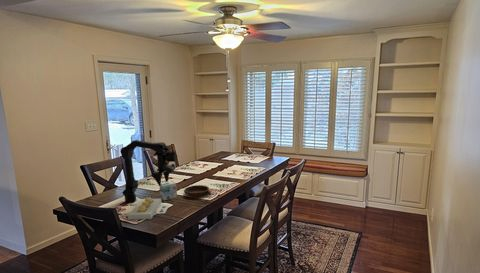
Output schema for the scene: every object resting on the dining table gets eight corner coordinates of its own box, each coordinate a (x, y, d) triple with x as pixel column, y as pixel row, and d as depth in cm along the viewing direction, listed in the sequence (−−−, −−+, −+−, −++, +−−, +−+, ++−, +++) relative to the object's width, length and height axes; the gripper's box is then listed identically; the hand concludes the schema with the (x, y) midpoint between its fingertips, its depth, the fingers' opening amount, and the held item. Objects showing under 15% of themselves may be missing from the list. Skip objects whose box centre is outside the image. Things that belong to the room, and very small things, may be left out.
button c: (144, 205, 196) (144, 199, 195) (146, 203, 200) (146, 197, 199) (151, 205, 196) (150, 199, 195) (152, 202, 200) (152, 197, 200)
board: (128, 219, 178) (127, 215, 178) (141, 203, 204) (140, 199, 204) (151, 218, 179) (150, 214, 178) (161, 202, 204) (161, 198, 204)
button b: (141, 209, 189) (140, 203, 188) (143, 207, 193) (142, 201, 193) (148, 209, 189) (147, 203, 188) (149, 206, 193) (149, 201, 193)
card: (156, 213, 186) (156, 212, 185) (161, 206, 197) (161, 205, 197) (164, 213, 186) (164, 212, 186) (168, 206, 198) (168, 205, 197)
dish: (204, 200, 205) (204, 194, 204) (177, 197, 213) (177, 191, 212) (215, 192, 221) (215, 186, 220) (189, 190, 229) (189, 183, 228)
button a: (138, 214, 182) (137, 208, 181) (140, 211, 186) (139, 205, 186) (144, 213, 182) (144, 207, 182) (146, 211, 186) (146, 205, 186)
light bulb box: (163, 200, 208) (162, 186, 206) (160, 198, 213) (158, 183, 212) (177, 197, 214) (176, 182, 212) (173, 194, 220) (172, 180, 218)
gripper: (165, 165, 188) (167, 188, 190) (179, 158, 206) (180, 180, 208) (150, 164, 191) (151, 187, 193) (164, 158, 209) (166, 179, 211)
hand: (163, 183), depth 201 cm, fingers open, 9 cm apart
